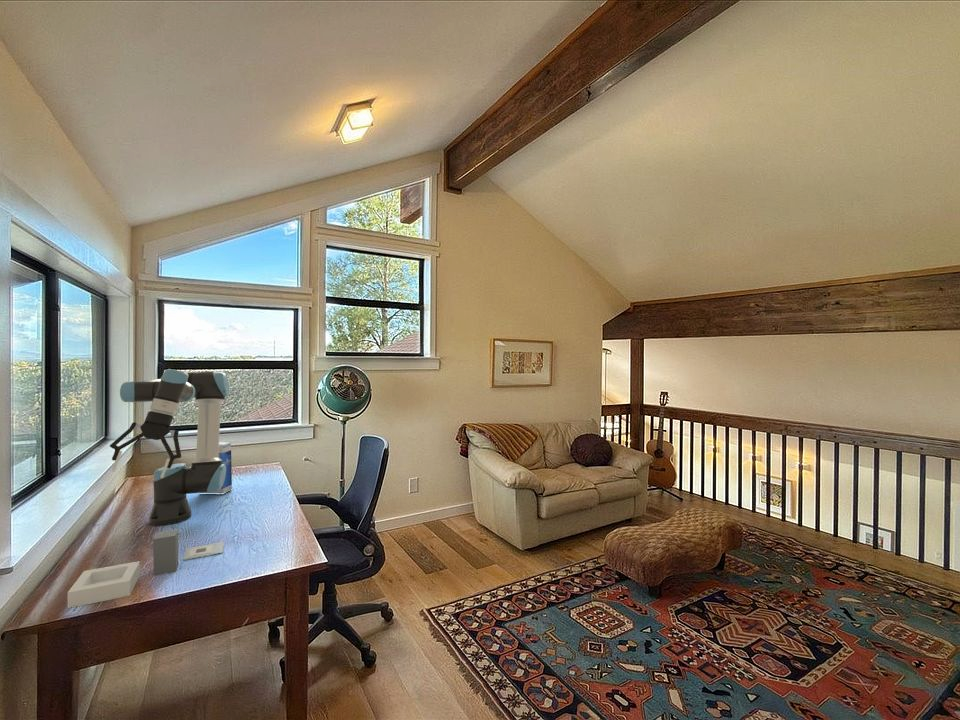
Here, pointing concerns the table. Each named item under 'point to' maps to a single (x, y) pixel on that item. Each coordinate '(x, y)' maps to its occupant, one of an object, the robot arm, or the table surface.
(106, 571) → the socket base
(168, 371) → the robot arm
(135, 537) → the table surface
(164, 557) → the charcoal pillar
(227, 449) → the string lights box
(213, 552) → the card
